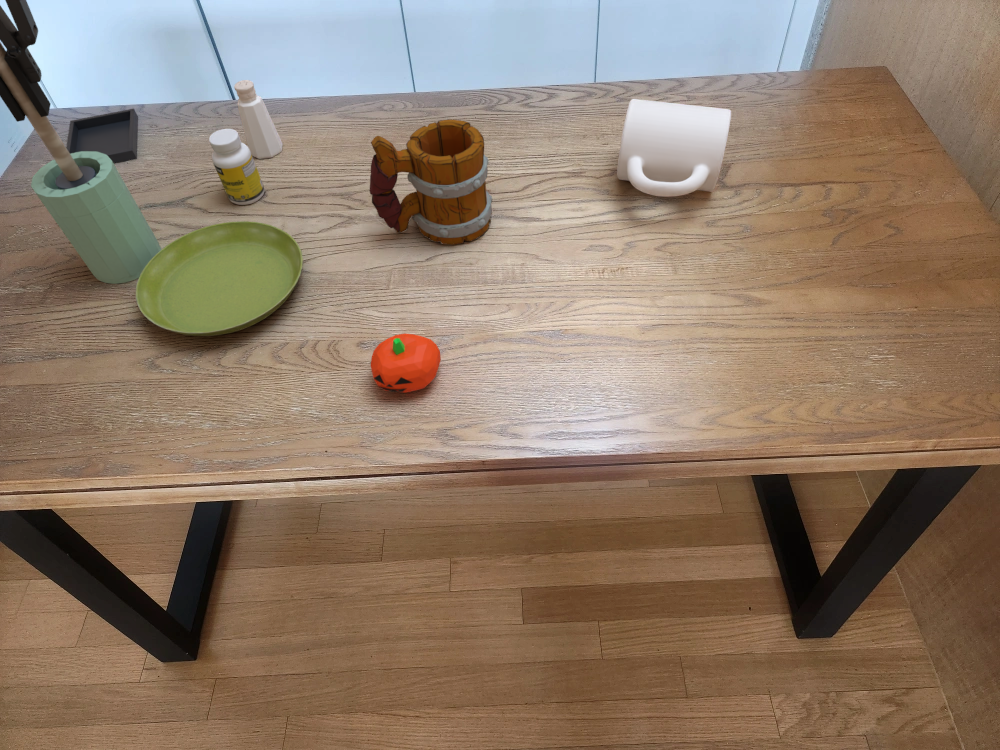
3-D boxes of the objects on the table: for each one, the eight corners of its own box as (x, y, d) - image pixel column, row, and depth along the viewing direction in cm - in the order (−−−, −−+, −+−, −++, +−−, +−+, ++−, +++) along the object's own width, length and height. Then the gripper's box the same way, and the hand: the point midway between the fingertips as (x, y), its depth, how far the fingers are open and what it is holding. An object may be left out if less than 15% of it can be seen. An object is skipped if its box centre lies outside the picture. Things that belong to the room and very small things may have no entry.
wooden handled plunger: (71, 219, 82) (-67, 16, 63) (74, 197, 85) (-58, -4, 66) (110, 210, 83) (-15, 7, 64) (112, 189, 85) (-8, -12, 66)
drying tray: (138, 161, 106) (132, 150, 104) (70, 175, 104) (63, 164, 102) (139, 119, 114) (133, 108, 112) (76, 131, 112) (70, 120, 110)
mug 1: (505, 235, 91) (501, 137, 79) (388, 263, 89) (366, 166, 77) (482, 190, 98) (475, 93, 86) (372, 215, 95) (350, 119, 83)
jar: (90, 290, 88) (27, 204, 77) (94, 247, 93) (35, 160, 82) (162, 274, 89) (110, 186, 78) (161, 232, 95) (113, 144, 84)
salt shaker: (255, 163, 104) (230, 97, 95) (245, 147, 107) (220, 81, 98) (288, 152, 106) (266, 86, 97) (277, 136, 109) (255, 70, 100)
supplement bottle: (221, 201, 98) (195, 143, 91) (243, 181, 101) (219, 122, 94) (251, 209, 97) (227, 150, 89) (272, 188, 100) (251, 129, 92)
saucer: (258, 365, 78) (249, 348, 76) (113, 331, 83) (100, 314, 80) (335, 252, 90) (329, 233, 88) (204, 227, 95) (195, 209, 92)
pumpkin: (451, 388, 75) (445, 352, 70) (383, 410, 74) (372, 374, 69) (433, 344, 79) (426, 306, 74) (368, 364, 78) (357, 327, 73)
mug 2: (625, 151, 102) (634, 83, 94) (716, 163, 100) (734, 93, 91) (607, 218, 93) (614, 149, 84) (707, 232, 90) (725, 163, 81)
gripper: (-251, -124, 52) (-45, 144, 70) (-45, -151, 54) (102, 115, 73) (-219, -150, 56) (-33, 109, 75) (-30, -173, 59) (105, 83, 77)
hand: (33, 112), depth 74 cm, fingers closed on wooden handled plunger, 2 cm apart
